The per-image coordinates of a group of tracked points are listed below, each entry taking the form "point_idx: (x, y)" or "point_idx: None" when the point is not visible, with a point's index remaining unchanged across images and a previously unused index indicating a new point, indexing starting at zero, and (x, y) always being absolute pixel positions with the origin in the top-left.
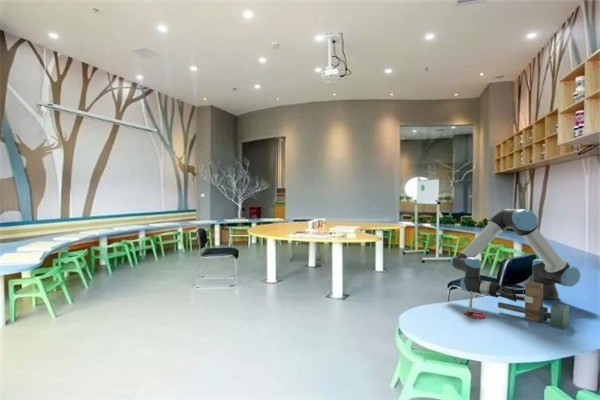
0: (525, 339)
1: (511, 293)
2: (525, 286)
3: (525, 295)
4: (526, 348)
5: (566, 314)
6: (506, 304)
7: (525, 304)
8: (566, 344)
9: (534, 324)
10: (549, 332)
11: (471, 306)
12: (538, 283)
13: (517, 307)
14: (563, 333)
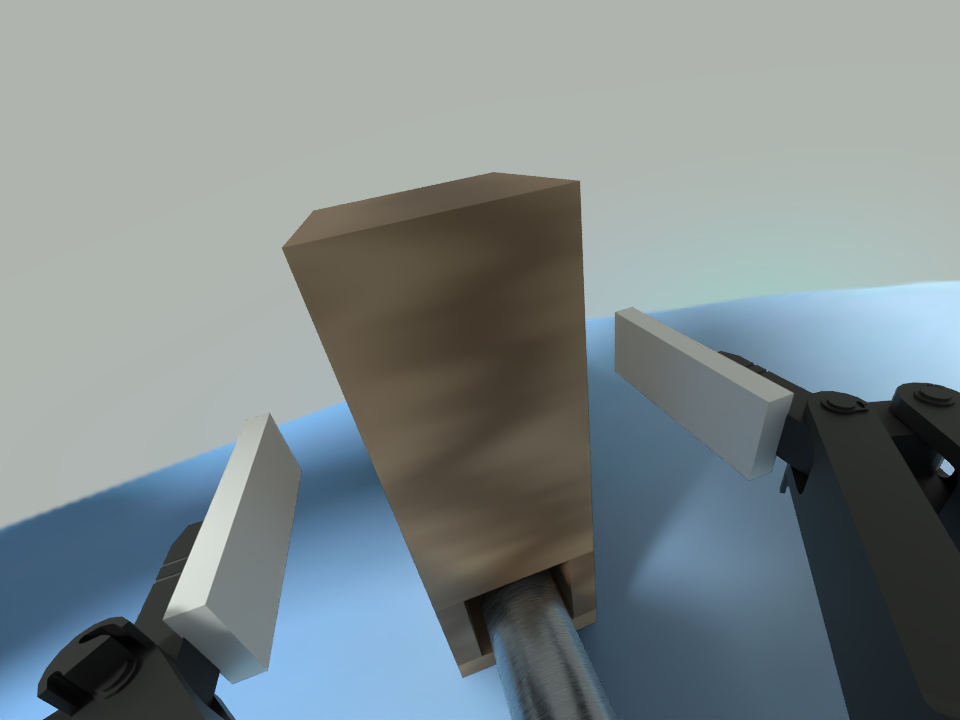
0: (888, 361)
1: (894, 504)
2: (579, 257)
3: (585, 411)
4: (937, 312)
5: None
6: None
7: (591, 511)
8: (679, 324)
9: (623, 499)
10: (640, 398)
11: None
12: (354, 207)
13: (605, 714)
14: None
